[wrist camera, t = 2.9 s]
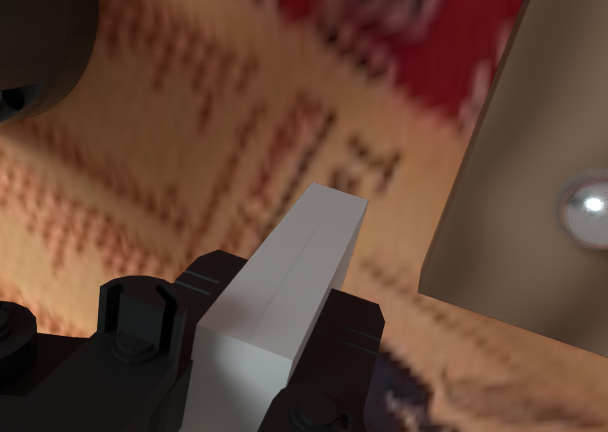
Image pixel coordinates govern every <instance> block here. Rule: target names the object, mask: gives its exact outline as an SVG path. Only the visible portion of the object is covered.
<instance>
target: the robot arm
mask: <svg viewBox="0 0 608 432" xmlns="http://www.w3.org/2000/svg"><path fill="white" fill-rule="evenodd" d="M97 18H98V0H0V125H4V124H8V123H11V122H15V121H18V120H22V119H25V118H28V117H32V116H35V115H38V114H40V113H42V112H44V111H47V110H48V109H50V108H52V107H53V106H55V105H56V104H57V103H59V102H60V101H61V100H62V99H63V98H64V97H65V96H67V94H68V93H69V92H70V91H71V90H72V89H73V87H74V86H75V85H76V83H77V82H78V80H79V79H80V77H81V75H82V73H83V71H84V69H85V67H86V65H87V63H88V60H89V57H90V54H91V51H92V48H93V44H94V39H95V34H96V28H97ZM368 201H369V200H366V199H363V198H360V197H357V196H354V195H351V194H348V193H345V192H342V191H339V190H335V189H332V188H329V187H326V186H323V185H320V184H317V183H314V182H312V183H311V184H310V186H309V187H308V188H307V189H306V191H305V192H304V193H303V194H302V195H301V197H300V198H299V199H298V200H297V202H296V203H295V204H294V205H293V206H292V208H291V209H290V210H289V211H288V213H287V214H286V215H285V216H284V218H283V219H282V220H281V221H280V222H279V224H278V225H277V226H276V227H275V229H274V230H273V231H272V232H271V234H270V235H269V236H268V237H267V238H266V240H265V241H264V242H263V243H262V245H261V246H260V247H259V248H258V249H257V251H256V252H255V253H254V254H253V256H252V257H251V258H250V259H249V260H246V259H244V258H241V257H238V256H235V255H232V254H229V253H227V252H224V251H221V250H216V251H213V252H211V253H208V254H205V255H203V256H200V257H198V258H197V259H196V260H195V261H194V262H193V263H192V264H191V265H190V266H189V267H188V268H187V269H186V271H185V272H183V273H182V274H181V275H180V276H179V277H178V278H177V279H176V280H175V282H174V283H172V284H171V283H169V282H167V281H166V280H163V279H159V278H155V277H151V276H125V277H121V278H116V279H113V280H111V281H109V282H107V283H105V284H103V285H102V286H100V294H99V309H98V323H97V331H96V332H95V333H94V334H93V335H92V336H91V337H90V338H79V337H67V336H60V335H52V334H44V333H37V323H36V317H35V316H34V315H33V314H32V313H31V311H30V310H29V309H28V308H26V307H23V306H21V305H19V304H17V303H14V302H7V301H0V432H366V430H365V426H364V421H363V410H364V405H365V401H366V397H367V393H368V389H369V385H370V381H371V377H372V373H373V369H374V365H375V361H376V357H377V353H378V349H379V345H380V340H381V337H382V333H383V329H384V325H385V320H384V318H383V315H382V312H381V309H380V307H379V304H376V303H373V302H370V301H367V300H365V299H362V298H359V297H356V296H353V295H351V294H348V293H345V292H342V291H341V289H342V286H343V282H344V279H345V276H346V273H347V269H348V266H349V263H350V260H351V256H352V253H353V250H354V247H355V243H356V240H357V237H358V234H359V230H360V227H361V224H362V221H363V217H364V214H365V211H366V208H367V204H368Z"/></svg>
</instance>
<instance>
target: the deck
mask: <svg viewBox="0 0 608 432" xmlns="http://www.w3.org/2000/svg"><path fill="white" fill-rule="evenodd" d="M593 167H608V0H523V2H522V5H521V7H520V10H519V13H518V15H517V18H516V21H515V23H514V26H513V28H512V31H511V34H510V36H509V39H508V42H507V44H506V47H505V49H504V52H503V55H502V57H501V60H500V63H499V65H498V68H497V71H496V73H495V76H494V78H493V81H492V84H491V86H490V89H489V92H488V94H487V97H486V100H485V102H484V105H483V107H482V110H481V113H480V115H479V118H478V121H477V123H476V126H475V128H474V131H473V134H472V136H471V139H470V142H469V144H468V147H467V150H466V152H465V155H464V157H463V160H462V163H461V165H460V168H459V171H458V173H457V176H456V178H455V181H454V184H453V186H452V189H451V192H450V194H449V197H448V200H447V202H446V205H445V207H444V210H443V213H442V215H441V218H440V221H439V223H438V226H437V228H436V231H435V234H434V236H433V239H432V242H431V244H430V247H429V250H428V252H427V255H426V257H425V260H424V263H423V265H422V268H421V274H420V280H419V287H418V293H420V294H423V295H426V296H429V297H432V298H435V299H438V300H441V301H444V302H447V303H450V304H452V305H455V306H458V307H461V308H464V309H467V310H470V311H473V312H476V313H479V314H482V315H485V316H488V317H490V318H493V319H496V320H499V321H502V322H505V323H508V324H511V325H514V326H517V327H520V328H523V329H526V330H528V331H531V332H534V333H537V334H540V335H543V336H546V337H549V338H552V339H555V340H558V341H561V342H564V343H566V344H569V345H572V346H575V347H578V348H581V349H584V350H587V351H590V352H593V353H596V354H599V355H601V356H604V357H607V358H608V250H602V251H597V250H589V249H585V248H582V247H579V246H577V245H575V244H573V243H571V242H570V241H569V240H567V239H566V238H565V237H564V236H563V235H562V234H561V233H560V231H559V230H558V228H557V226H556V224H555V222H554V219H553V214H552V204H553V200H554V196H555V194H556V192H557V190H558V188H559V187H560V185H561V184H562V183H563V182H564V181H565V180H566V179H567V178H568V177H570V176H571V175H573V174H574V173H576V172H578V171H581V170H584V169H587V168H593Z"/></svg>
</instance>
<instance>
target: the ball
mask: <svg viewBox="0 0 608 432" xmlns="http://www.w3.org/2000/svg"><path fill="white" fill-rule="evenodd" d="M552 214H553V219H554V222H555V224H556V226H557V228H558V230H559V231H560V233H561V234H562V235H563V236H564V237H565V238H566V239H567V240H569V241H570V242H571V243H573V244H575V245H577V246H579V247H582V248H585V249H589V250H597V251H602V250H608V167H593V168H587V169H584V170H581V171H578V172H576V173H574V174H573V175H571V176H570V177H568V178H567V179H566V180H565V181H564V182H563V183H562V184H561V185H560V187H559V188H558V190H557V192H556V194H555V196H554V200H553V204H552Z"/></svg>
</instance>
